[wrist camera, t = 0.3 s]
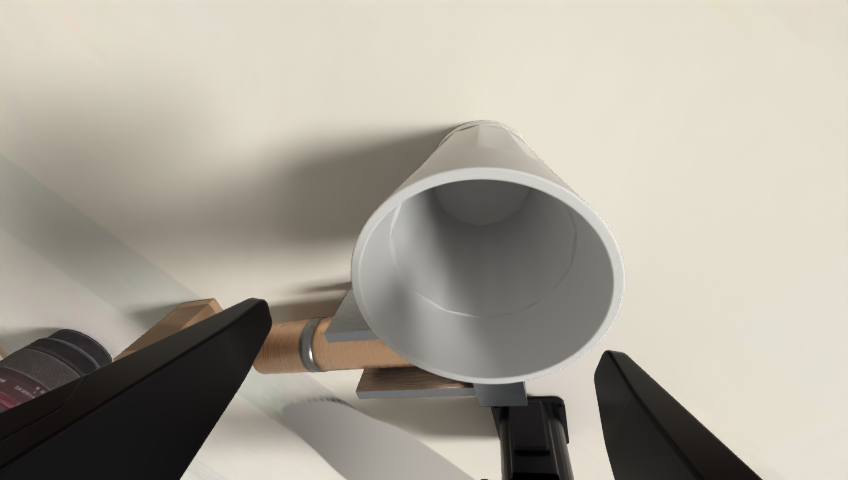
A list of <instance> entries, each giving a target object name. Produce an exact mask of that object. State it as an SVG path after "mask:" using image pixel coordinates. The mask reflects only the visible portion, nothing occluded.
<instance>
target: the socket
mask: <svg viewBox="0 0 848 480" xmlns="http://www.w3.org/2000/svg"><path fill="white" fill-rule="evenodd" d="M221 311H223V310H222V308H221V307H220V306H219V304H218V303H217V301H216V300H215V299H208V300H201V301H194V302H187V303H182V304H181V305H179V306H178V307H177V308H176V309H174V310H173V311H172V312H171V313H170V314H168V315H167V316H166V317H165V318H163V319H162V320H161V321H160V322H158V323H157V324H156V325H155V326H154V327H152V328H151V329H150V330H149V331H147V332H146V333H145V334H144V335H142V336H141V337H140V338H139V339H138V340H136V341H135V342H134V343H133V344H131V345H130V346H129V347H128V348H126V349H125V350H124V351H123V352H122V353H120V354H119V355H118V356H117V357H115V358H114V359H113V360H114V361H116V360H118V359H120V358H122V357H124V356H126V355H129V354H131V353H133V352H135V351H137V350H139V349H142V348H144V347H146V346H148V345H150V344H152V343H154V342H157V341H159V340H161V339H163V338H165V337H167V336H170V335H172V334H174V333H176V332H178V331H180V330H182V329H185V328H187V327H189V326H191V325H193V324H195V323H198V322H200V321H202V320H204V319H206V318H208V317H210V316H213V315H215V314H217V313H219V312H221Z"/></svg>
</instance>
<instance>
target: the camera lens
mask: <svg viewBox="0 0 848 480" xmlns="http://www.w3.org/2000/svg"><path fill="white" fill-rule="evenodd" d="M111 362H112V360H111V357H110V356H109V354H108V353H107V351H106V350H105V349H104V348H103V347H102V346H101V345H99V344H98V343H97V342H95V341H94V340H92V339H91V338H89V337H87V336H85V335H83V334H81V333H78V332H75V331H71V330H60V331H58V332H56V333H54V334H53V335H51V336H49V337H48V338H42V339H38V340H36V341H35V342H33V343H31V344H30V345H28V346H26V347H24V348H22V349H20V350H18V351H16V352H14V353H12V354H11V355H9V356H8V357H6V358H4V359H3V360H1V361H0V412H3V411H5V410H7V409H10V408H12V407H14V406H17V405H19V404H21V403H24V402H26V401H28V400H31V399H33V398H35V397H37V396H40V395H42V394H44V393H46V392H49V391H51V390H53V389H55V388H57V387H60V386H62V385H64V384H66V383H68V382H70V381H73V380H75V379H77V378H79V377H81V376H83V375H85V374H90V373H91V372H92V371H94V370H96V369H98V368H101V367H103V366H105V365H107V364H109V363H111Z"/></svg>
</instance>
